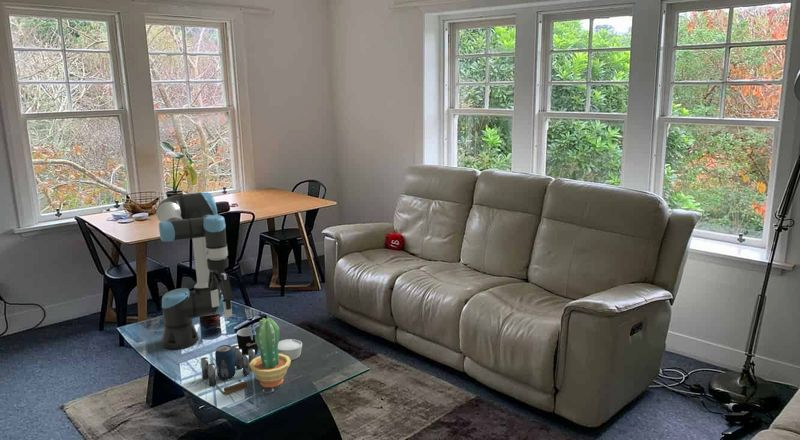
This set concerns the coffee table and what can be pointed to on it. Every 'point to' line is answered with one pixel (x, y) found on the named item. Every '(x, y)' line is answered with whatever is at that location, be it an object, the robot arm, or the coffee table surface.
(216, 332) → the coffee table surface
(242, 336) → the mug
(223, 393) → the bay lines
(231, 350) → the soda can
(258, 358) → the potted cactus
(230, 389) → the walnut stop
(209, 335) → the coffee table surface
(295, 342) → the ramekin
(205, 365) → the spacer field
